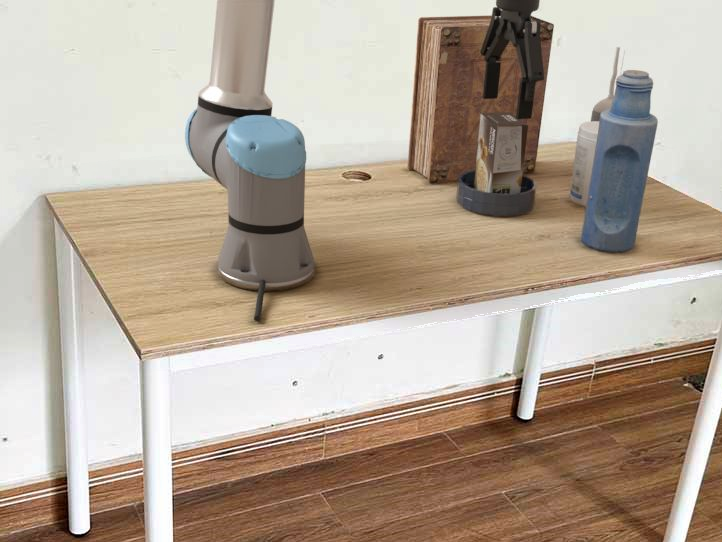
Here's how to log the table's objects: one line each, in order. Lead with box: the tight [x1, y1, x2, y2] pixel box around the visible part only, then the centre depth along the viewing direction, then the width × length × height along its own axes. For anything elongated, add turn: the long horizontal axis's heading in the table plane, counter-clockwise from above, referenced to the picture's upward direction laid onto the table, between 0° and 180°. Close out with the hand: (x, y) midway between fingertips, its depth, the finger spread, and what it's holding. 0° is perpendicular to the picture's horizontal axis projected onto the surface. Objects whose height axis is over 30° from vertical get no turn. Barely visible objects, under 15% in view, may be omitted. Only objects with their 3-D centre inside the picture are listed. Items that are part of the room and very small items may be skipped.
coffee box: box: [474, 112, 528, 194], centre depth 198 cm, size 9×6×16 cm
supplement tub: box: [569, 120, 599, 208], centre depth 204 cm, size 10×10×15 cm
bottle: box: [580, 69, 659, 254], centre depth 181 cm, size 10×10×30 cm
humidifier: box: [590, 46, 626, 122], centre depth 221 cm, size 8×8×25 cm
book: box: [407, 14, 555, 185], centre depth 212 cm, size 25×9×30 cm, turn 116°
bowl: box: [455, 170, 538, 218], centre depth 202 cm, size 15×15×4 cm
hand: (506, 108), depth 194 cm, fingers open, 13 cm apart
